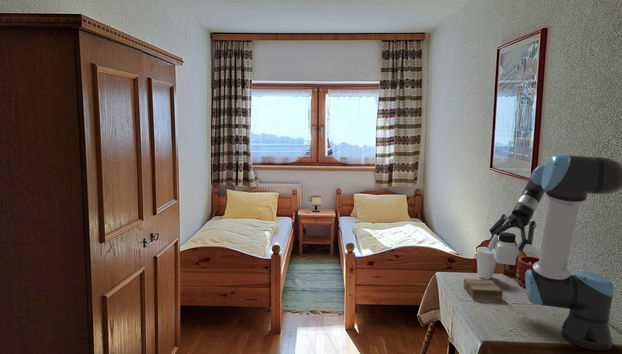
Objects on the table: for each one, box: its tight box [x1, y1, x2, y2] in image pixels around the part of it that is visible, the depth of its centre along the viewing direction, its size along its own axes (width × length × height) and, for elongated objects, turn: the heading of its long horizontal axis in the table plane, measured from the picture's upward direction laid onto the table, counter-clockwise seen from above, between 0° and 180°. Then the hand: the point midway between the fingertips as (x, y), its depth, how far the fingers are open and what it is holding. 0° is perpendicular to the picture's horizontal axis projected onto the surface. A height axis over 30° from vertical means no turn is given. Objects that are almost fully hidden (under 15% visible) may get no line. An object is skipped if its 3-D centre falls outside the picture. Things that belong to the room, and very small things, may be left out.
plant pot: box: [516, 255, 539, 288], centre depth 202 cm, size 13×13×12 cm
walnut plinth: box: [463, 278, 503, 301], centre depth 191 cm, size 12×12×4 cm
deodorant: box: [502, 243, 520, 278], centre depth 215 cm, size 6×6×15 cm
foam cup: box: [476, 246, 497, 280], centre depth 211 cm, size 10×9×13 cm
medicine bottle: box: [494, 231, 517, 265], centre depth 181 cm, size 7×7×12 cm
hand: (501, 252), depth 179 cm, fingers closed on medicine bottle, 10 cm apart
